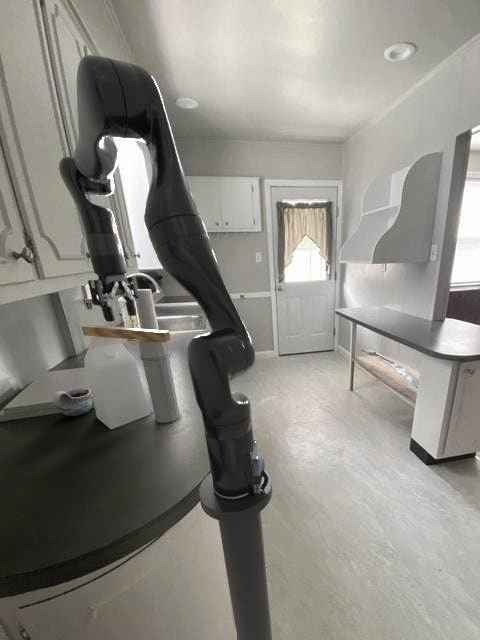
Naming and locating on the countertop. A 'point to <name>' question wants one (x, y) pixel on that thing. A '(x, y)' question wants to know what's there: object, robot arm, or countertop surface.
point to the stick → (126, 333)
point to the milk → (114, 382)
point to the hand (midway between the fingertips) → (122, 318)
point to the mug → (73, 401)
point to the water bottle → (159, 380)
